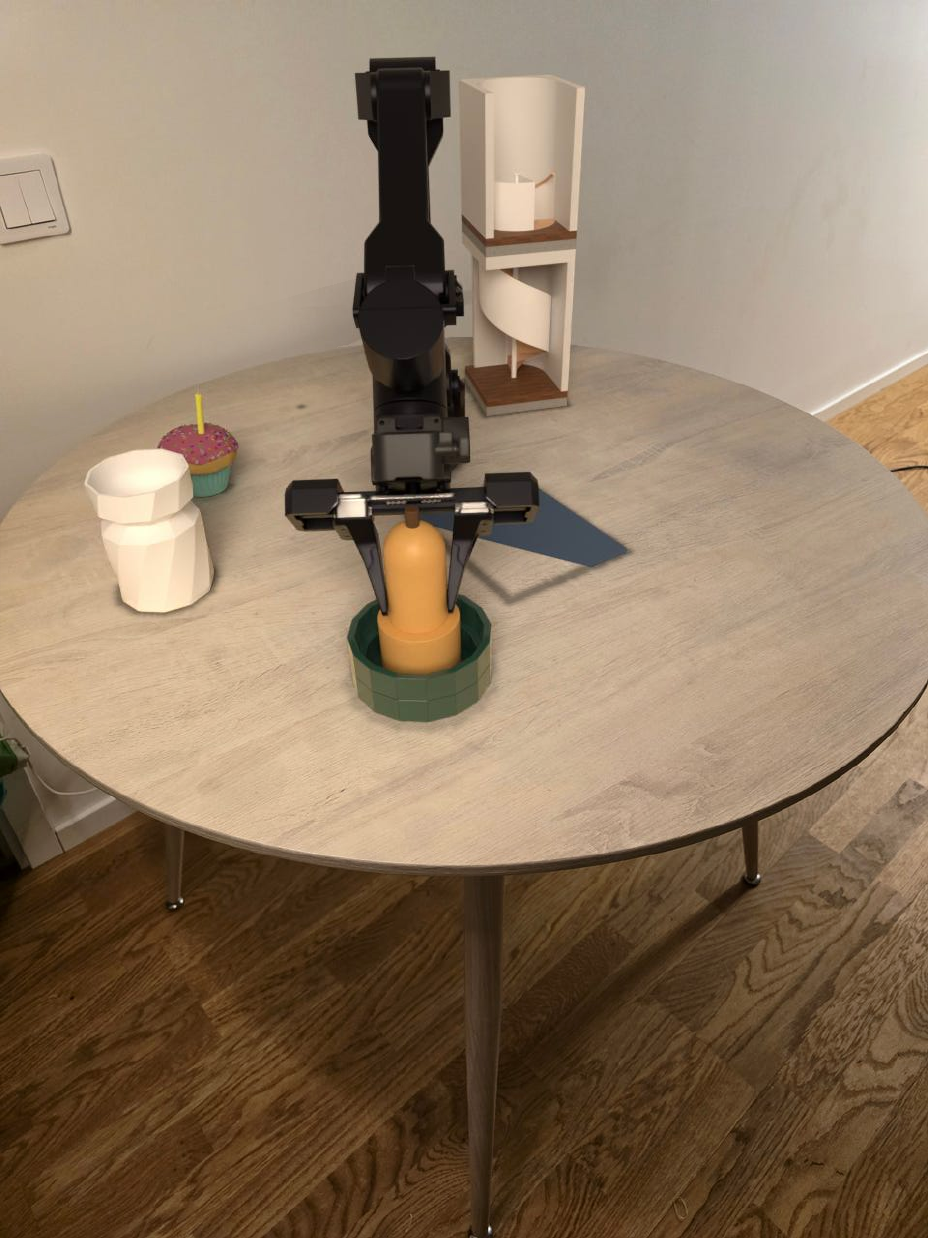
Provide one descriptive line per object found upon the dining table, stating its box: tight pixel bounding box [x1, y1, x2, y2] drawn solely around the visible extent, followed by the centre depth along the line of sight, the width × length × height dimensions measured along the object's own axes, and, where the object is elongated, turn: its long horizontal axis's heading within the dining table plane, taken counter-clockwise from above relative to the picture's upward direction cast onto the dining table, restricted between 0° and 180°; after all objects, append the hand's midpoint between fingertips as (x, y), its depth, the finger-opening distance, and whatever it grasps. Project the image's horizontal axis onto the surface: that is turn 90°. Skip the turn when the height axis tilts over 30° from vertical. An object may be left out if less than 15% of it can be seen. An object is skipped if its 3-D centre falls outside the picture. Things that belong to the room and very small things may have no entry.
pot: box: [346, 593, 493, 723], centre depth 69 cm, size 11×11×5 cm
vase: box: [83, 448, 215, 613], centre depth 78 cm, size 9×9×12 cm
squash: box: [377, 505, 461, 674], centre depth 66 cm, size 6×6×16 cm
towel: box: [419, 488, 628, 568], centre depth 87 cm, size 18×14×1 cm
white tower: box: [458, 73, 586, 417], centre depth 103 cm, size 11×11×35 cm
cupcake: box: [156, 386, 239, 498], centre depth 92 cm, size 9×8×12 cm
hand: (417, 614), depth 65 cm, fingers closed on squash, 4 cm apart
